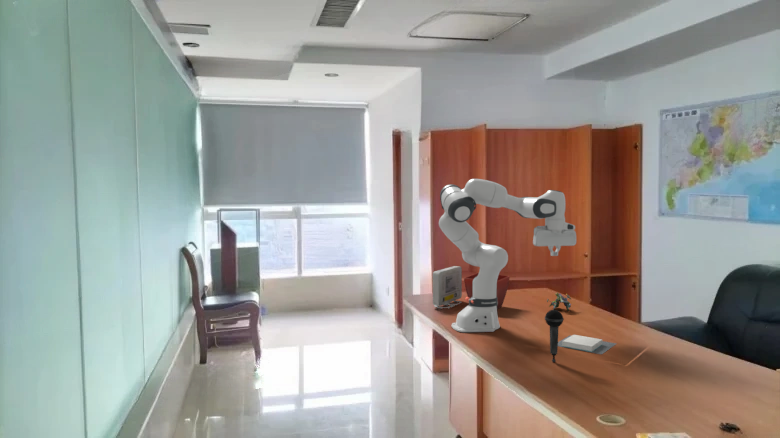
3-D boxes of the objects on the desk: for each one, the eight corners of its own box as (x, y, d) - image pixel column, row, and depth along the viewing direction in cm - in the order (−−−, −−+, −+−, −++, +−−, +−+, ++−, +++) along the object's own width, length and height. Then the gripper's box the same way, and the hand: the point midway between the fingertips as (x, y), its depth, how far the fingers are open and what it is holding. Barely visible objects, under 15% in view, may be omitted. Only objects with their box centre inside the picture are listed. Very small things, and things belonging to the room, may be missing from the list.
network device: (452, 299, 321) (452, 265, 319) (466, 301, 316) (466, 266, 314) (429, 308, 300) (428, 271, 299) (443, 310, 295) (443, 273, 294)
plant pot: (510, 306, 303) (510, 275, 302) (497, 313, 287) (497, 281, 286) (477, 302, 313) (477, 272, 312) (463, 309, 297) (463, 278, 296)
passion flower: (567, 320, 292) (577, 305, 284) (547, 317, 290) (557, 302, 283) (561, 304, 300) (571, 289, 293) (542, 301, 299) (551, 286, 292)
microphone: (560, 366, 205) (561, 313, 204) (542, 363, 209) (542, 310, 208) (565, 361, 211) (565, 309, 210) (547, 358, 215) (547, 307, 213)
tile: (573, 334, 236) (562, 341, 227) (602, 339, 229) (591, 346, 219) (573, 339, 237) (562, 346, 227) (602, 344, 229) (591, 352, 220)
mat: (569, 336, 243) (569, 335, 243) (616, 344, 231) (616, 343, 231) (552, 346, 230) (552, 345, 229) (601, 355, 217) (601, 354, 217)
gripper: (537, 226, 249) (536, 257, 250) (578, 225, 254) (577, 256, 255) (530, 225, 256) (530, 255, 256) (571, 224, 260) (570, 254, 261)
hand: (554, 255), depth 256 cm, fingers closed
